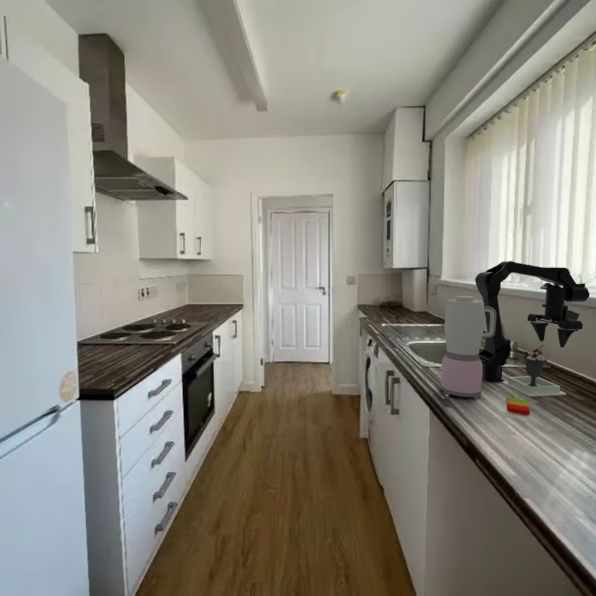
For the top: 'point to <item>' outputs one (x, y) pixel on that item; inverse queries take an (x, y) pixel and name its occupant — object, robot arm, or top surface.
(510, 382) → the holder cell
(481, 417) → the top surface
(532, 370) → the sundae
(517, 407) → the popsicle
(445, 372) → the blender
